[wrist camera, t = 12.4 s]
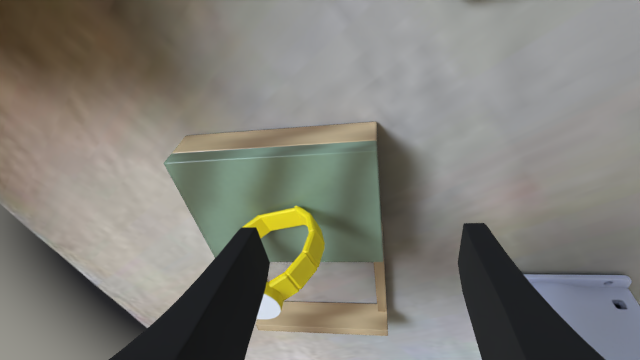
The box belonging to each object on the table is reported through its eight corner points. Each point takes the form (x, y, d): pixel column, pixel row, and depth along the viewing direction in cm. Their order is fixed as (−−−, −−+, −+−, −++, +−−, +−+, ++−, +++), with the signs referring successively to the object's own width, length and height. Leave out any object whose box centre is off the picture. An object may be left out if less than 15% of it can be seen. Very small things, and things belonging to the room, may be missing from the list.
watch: (314, 188, 19) (296, 278, 14) (334, 221, 21) (324, 312, 16) (229, 213, 21) (190, 298, 17) (253, 240, 23) (223, 326, 18)
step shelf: (376, 120, 19) (377, 150, 17) (387, 309, 32) (388, 341, 29) (185, 135, 22) (163, 163, 19) (264, 306, 34) (256, 335, 32)
